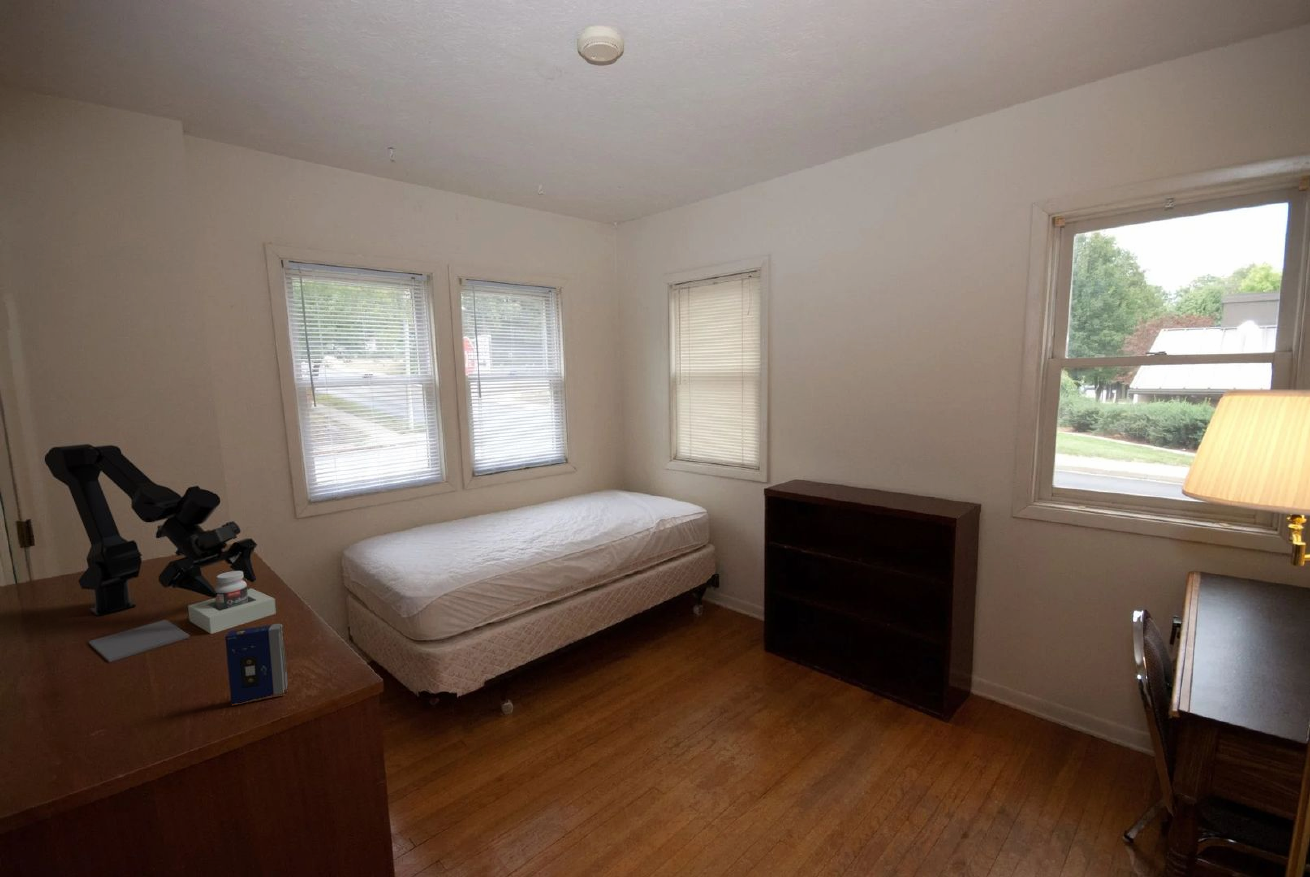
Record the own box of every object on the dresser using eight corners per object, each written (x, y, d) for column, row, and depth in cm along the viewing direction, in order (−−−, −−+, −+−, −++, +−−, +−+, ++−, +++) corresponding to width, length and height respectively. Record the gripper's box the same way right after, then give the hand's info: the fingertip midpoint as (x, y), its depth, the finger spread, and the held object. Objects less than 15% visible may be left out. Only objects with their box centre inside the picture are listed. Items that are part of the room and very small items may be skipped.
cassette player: (230, 707, 88) (224, 635, 86) (235, 699, 90) (228, 629, 89) (285, 696, 91) (279, 626, 89) (288, 689, 93) (282, 621, 92)
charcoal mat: (88, 643, 110) (88, 641, 110) (165, 621, 120) (165, 619, 120) (109, 662, 103) (108, 659, 102) (189, 637, 113) (189, 634, 112)
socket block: (189, 621, 120) (188, 605, 120) (252, 602, 130) (251, 588, 130) (211, 634, 114) (209, 617, 114) (275, 613, 124) (274, 598, 124)
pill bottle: (231, 623, 119) (227, 579, 118) (210, 621, 120) (206, 578, 119) (255, 613, 124) (252, 570, 123) (235, 611, 126) (231, 569, 125)
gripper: (164, 524, 111) (214, 579, 111) (247, 504, 130) (290, 551, 129) (136, 560, 114) (185, 614, 113) (222, 535, 132) (265, 582, 131)
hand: (235, 588), depth 121 cm, fingers open, 9 cm apart
